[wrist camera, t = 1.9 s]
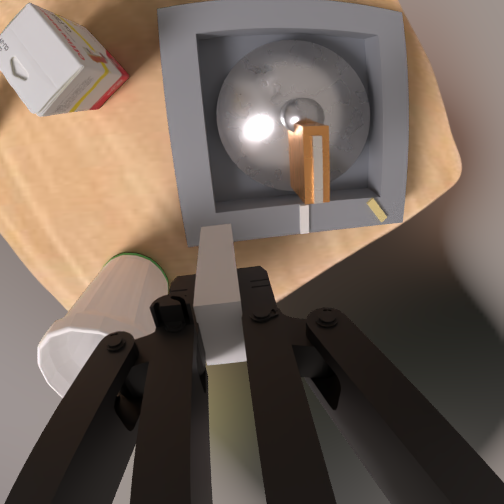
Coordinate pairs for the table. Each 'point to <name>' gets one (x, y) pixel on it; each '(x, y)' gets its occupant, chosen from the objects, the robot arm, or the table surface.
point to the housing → (205, 118)
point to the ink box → (56, 63)
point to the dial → (293, 117)
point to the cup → (102, 316)
